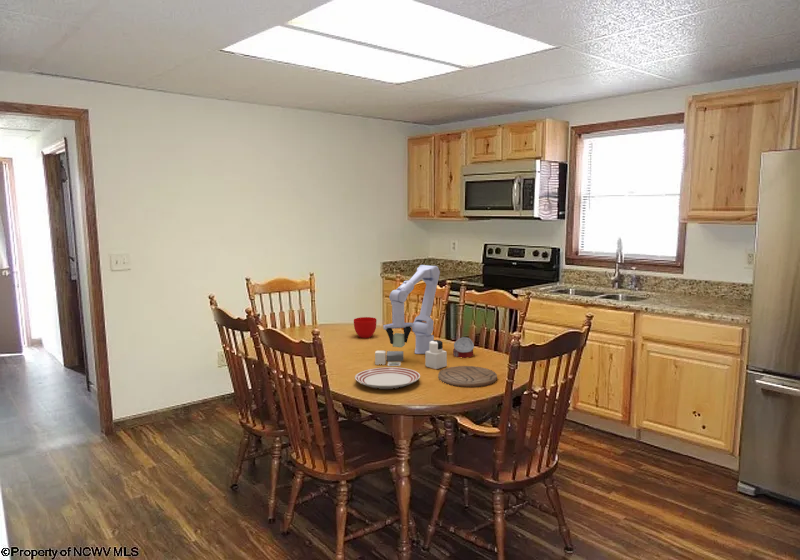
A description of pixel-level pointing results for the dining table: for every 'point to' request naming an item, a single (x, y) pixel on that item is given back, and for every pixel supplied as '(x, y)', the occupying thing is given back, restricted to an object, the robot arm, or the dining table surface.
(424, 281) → the robot arm
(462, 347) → the canned food
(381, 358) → the offwhite block
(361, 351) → the dining table surface
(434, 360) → the medicine bottle
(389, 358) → the base slab
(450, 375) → the trivet
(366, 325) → the ceramic cup
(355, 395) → the dining table surface
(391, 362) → the card
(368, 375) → the dinner plate
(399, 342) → the sage block
